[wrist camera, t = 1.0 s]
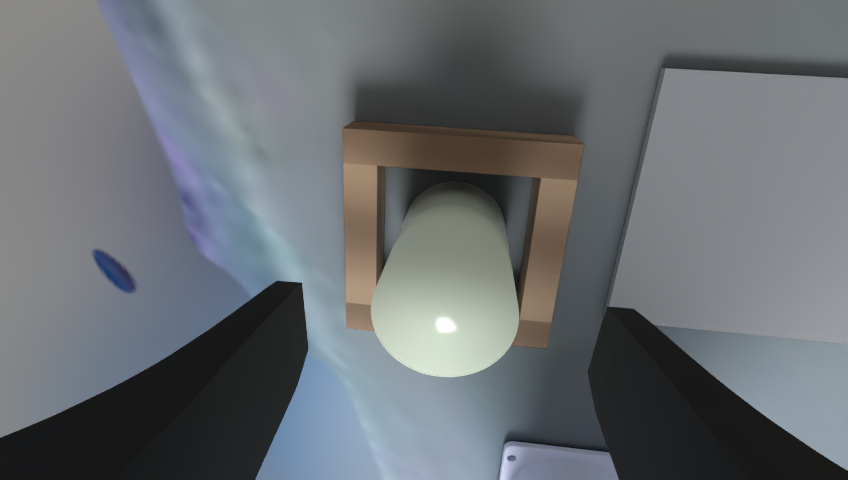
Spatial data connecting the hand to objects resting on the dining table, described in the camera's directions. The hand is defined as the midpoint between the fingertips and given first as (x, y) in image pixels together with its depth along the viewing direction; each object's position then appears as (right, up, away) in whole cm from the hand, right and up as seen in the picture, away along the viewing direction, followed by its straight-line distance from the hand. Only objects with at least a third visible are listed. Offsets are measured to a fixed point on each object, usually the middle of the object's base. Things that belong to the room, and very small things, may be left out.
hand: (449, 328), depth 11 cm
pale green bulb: (+1, +3, +12) cm, 12 cm away
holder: (+1, +3, +12) cm, 12 cm away
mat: (+15, +3, +10) cm, 18 cm away
